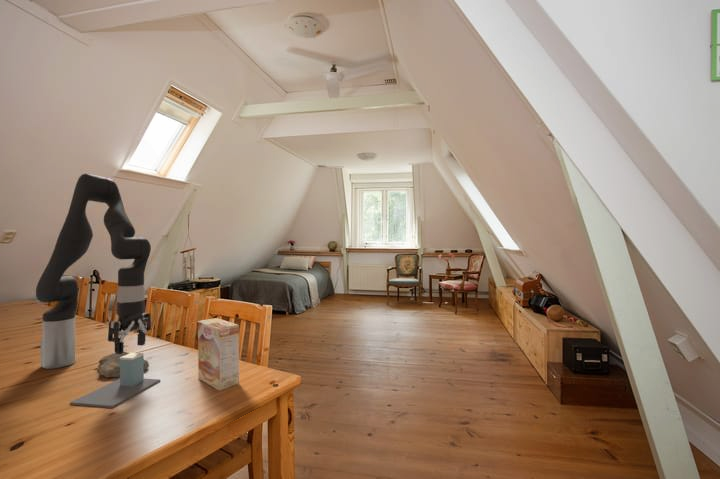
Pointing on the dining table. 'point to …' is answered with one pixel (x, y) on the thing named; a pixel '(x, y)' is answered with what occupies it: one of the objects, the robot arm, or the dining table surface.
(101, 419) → the dining table surface
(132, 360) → the block
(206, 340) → the coffeecake box
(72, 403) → the mat
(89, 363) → the dining table surface
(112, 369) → the clay tablet
